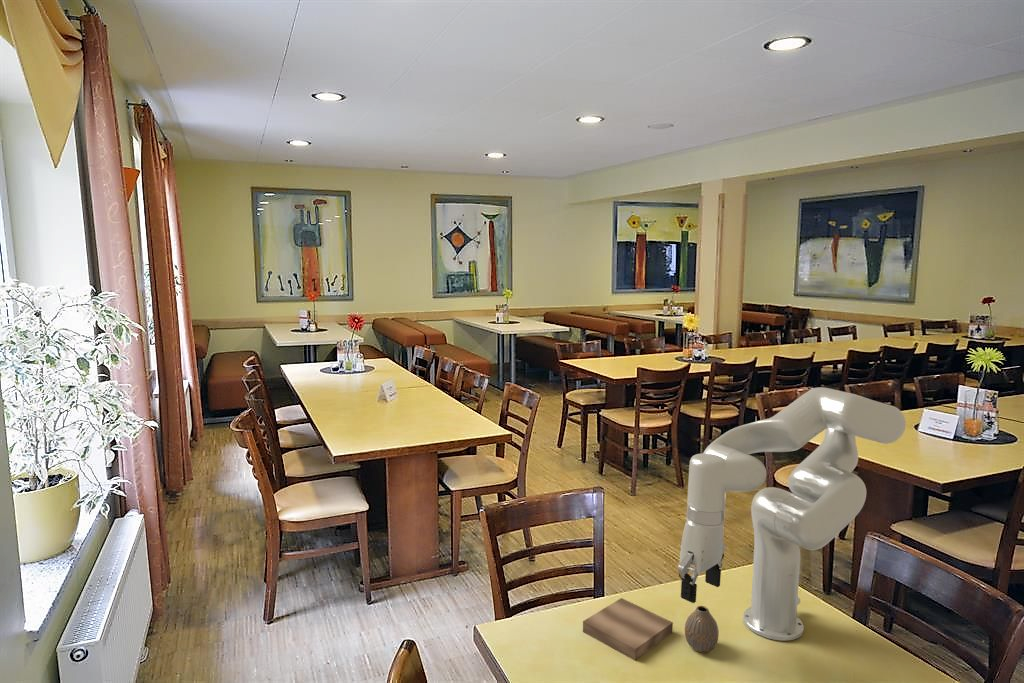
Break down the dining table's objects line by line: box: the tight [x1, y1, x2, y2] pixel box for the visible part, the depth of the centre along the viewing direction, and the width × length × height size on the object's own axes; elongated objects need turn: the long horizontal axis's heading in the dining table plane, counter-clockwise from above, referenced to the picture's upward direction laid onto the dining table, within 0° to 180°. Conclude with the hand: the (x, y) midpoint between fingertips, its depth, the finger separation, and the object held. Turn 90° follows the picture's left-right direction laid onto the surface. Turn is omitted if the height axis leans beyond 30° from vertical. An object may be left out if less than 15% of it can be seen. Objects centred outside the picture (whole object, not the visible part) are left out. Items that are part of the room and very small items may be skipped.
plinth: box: [582, 597, 674, 661], centre depth 141 cm, size 14×14×2 cm
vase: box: [684, 605, 719, 654], centre depth 135 cm, size 7×7×9 cm
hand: (700, 592), depth 134 cm, fingers open, 9 cm apart
